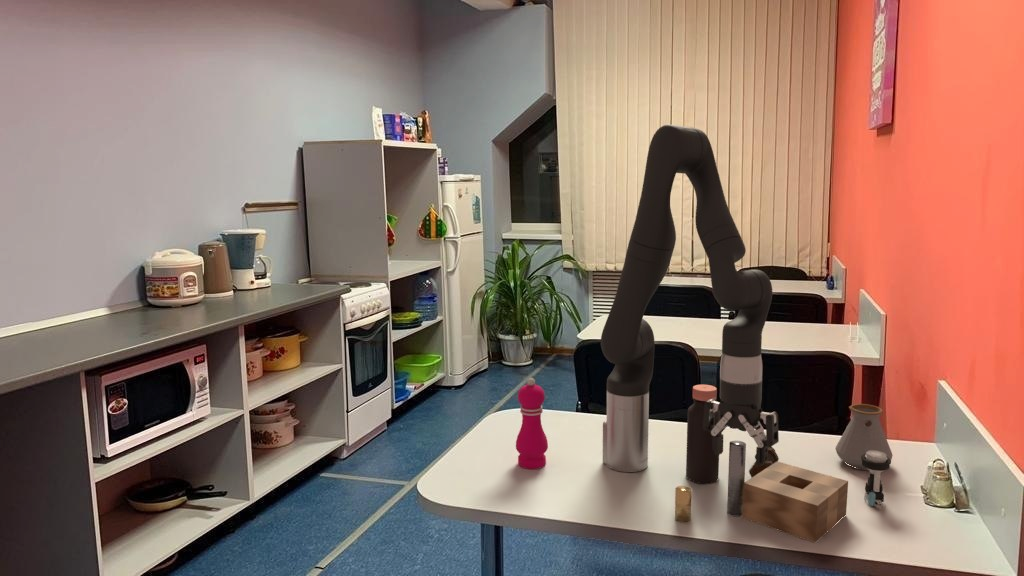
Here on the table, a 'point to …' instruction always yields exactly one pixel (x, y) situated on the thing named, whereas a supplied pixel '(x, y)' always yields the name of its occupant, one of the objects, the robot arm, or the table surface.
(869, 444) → the coffee pot
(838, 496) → the hole block
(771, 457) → the bolt
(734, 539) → the table surface
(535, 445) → the pepper mill
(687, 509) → the short pin
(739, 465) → the long pin
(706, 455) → the bottle
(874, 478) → the push button
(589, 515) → the table surface
